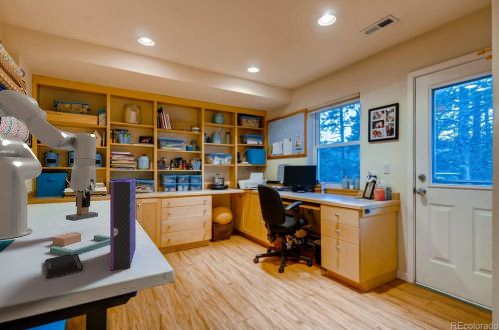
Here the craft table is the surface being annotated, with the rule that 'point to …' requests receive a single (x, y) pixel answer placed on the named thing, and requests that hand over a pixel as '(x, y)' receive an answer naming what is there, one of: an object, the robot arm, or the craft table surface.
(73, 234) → the tile
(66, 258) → the phone
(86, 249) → the frame
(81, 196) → the pusher
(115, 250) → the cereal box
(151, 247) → the craft table surface
